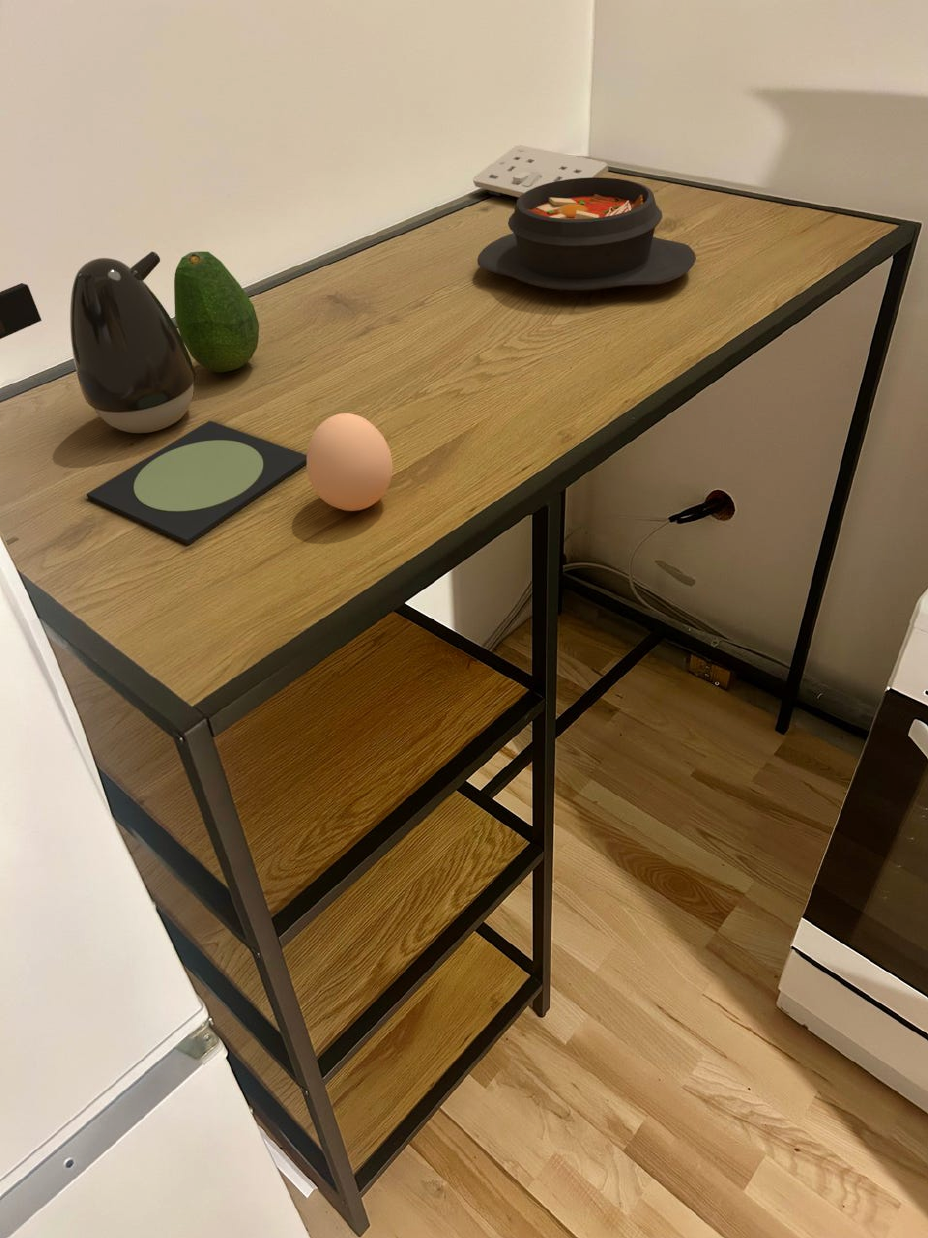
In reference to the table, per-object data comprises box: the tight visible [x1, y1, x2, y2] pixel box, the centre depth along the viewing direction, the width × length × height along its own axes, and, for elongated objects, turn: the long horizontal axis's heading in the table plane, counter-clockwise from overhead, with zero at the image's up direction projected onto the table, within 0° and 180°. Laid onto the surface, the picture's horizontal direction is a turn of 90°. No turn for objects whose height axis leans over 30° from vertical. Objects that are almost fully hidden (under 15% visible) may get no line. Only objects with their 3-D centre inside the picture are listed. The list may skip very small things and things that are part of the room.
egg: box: [306, 412, 394, 512], centre depth 72 cm, size 7×7×8 cm
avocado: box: [173, 251, 260, 373], centre depth 91 cm, size 8×8×12 cm
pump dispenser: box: [69, 251, 196, 434], centre depth 83 cm, size 10×10×15 cm
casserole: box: [476, 177, 697, 292], centre depth 104 cm, size 25×19×8 cm
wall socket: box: [472, 144, 609, 199], centre depth 127 cm, size 18×15×4 cm
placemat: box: [86, 420, 307, 546], centre depth 79 cm, size 13×14×1 cm
